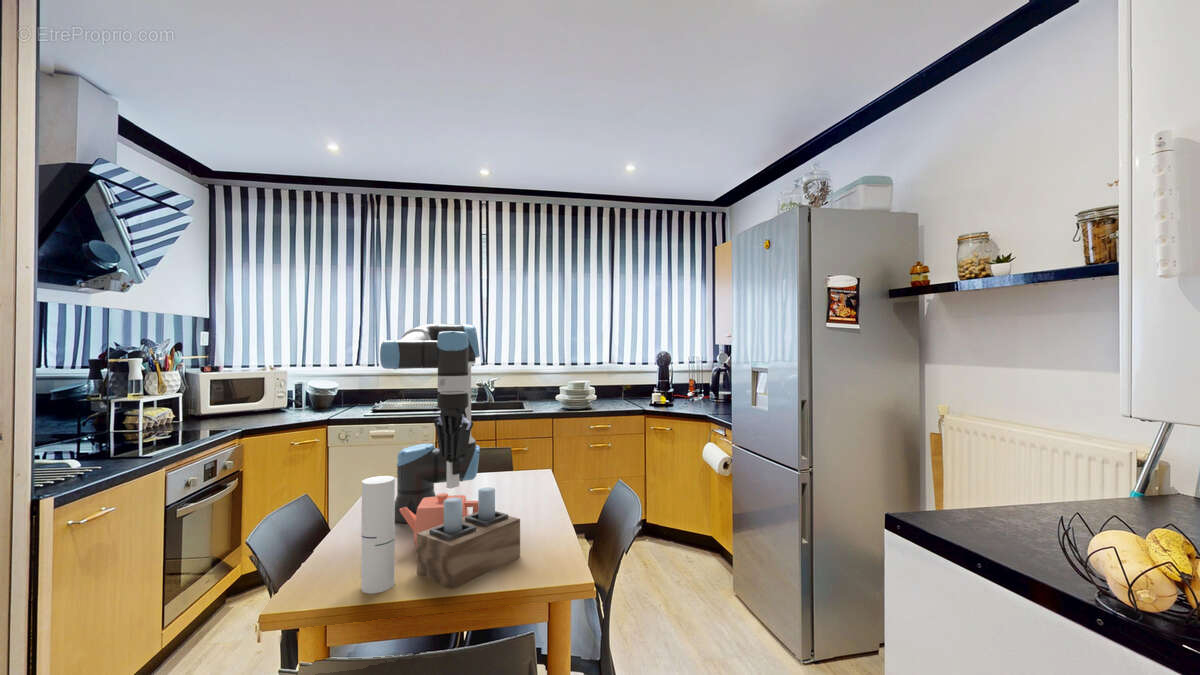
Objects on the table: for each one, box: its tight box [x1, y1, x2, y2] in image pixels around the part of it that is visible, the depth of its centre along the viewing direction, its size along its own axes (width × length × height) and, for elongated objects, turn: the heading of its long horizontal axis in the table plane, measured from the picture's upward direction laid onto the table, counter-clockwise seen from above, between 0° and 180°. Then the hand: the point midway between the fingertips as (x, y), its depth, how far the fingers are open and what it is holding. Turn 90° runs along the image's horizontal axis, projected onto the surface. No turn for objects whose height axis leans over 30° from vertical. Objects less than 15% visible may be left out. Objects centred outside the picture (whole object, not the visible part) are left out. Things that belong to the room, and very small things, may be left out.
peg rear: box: [477, 487, 496, 521], centre depth 131 cm, size 4×4×9 cm
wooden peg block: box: [416, 510, 521, 590], centre depth 126 cm, size 14×22×11 cm, turn 144°
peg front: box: [444, 498, 462, 535], centre depth 122 cm, size 4×4×9 cm
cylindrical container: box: [360, 475, 396, 595], centre depth 115 cm, size 7×7×25 cm
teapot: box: [400, 492, 478, 548], centre depth 140 cm, size 22×13×14 cm, turn 101°
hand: (452, 486), depth 122 cm, fingers closed
